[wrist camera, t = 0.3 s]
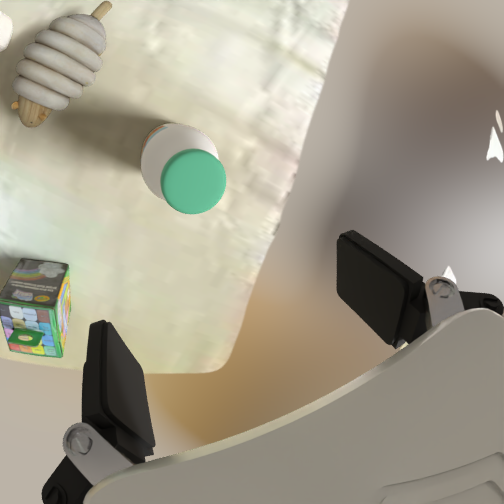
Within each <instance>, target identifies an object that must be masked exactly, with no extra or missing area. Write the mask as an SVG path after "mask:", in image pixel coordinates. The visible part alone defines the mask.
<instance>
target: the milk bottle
mask: <svg viewBox="0 0 504 504" xmlns="http://www.w3.org/2000/svg"><path fill="white" fill-rule="evenodd" d="M141 171H142V176H143V179H144V181H145V183H146V185H147V186H148V188H149V189H150V190H151V191H152V192H153V193H154V194H155V195H156V196H158V197H159V198H161V199H163V200H165V201H167V203H168V204H169V205H170V206H171V207H172V208H174V209H175V210H177V211H179V212H182V213H185V214H199V213H203V212H205V211H207V210H209V209H211V208H212V207H214V206H215V205H216V204H217V203H218V202H219V200H220V199H221V197H222V195H223V193H224V191H225V187H226V174H225V170H224V168H223V166H222V164H221V162H220V161H219V158H218V153H217V150H216V148H215V146H214V144H213V142H212V141H211V140H210V138H209V137H208V136H207V135H206V134H204V133H203V132H202V131H200V130H198V129H196V128H194V127H191V126H188V125H183V124H176V123H169V124H164V125H161V126H159V127H157V128H155V129H154V130H153V131H151V132H150V133H149V135H148V136H147V137H146V139H145V141H144V143H143V146H142V151H141Z"/></svg>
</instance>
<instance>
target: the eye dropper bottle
mask: <svg viewBox="0 0 504 504" xmlns="http://www.w3.org/2000/svg"><path fill="white" fill-rule="evenodd" d="M12 33H13V21H12V19H11V18H10V17H8V16H7V15H5V14H4V13H2V12H1V11H0V52H1V51H4V50H5V49H6V48H7V47H8V45H9V42H10V40H11V37H12Z"/></svg>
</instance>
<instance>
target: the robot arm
mask: <svg viewBox="0 0 504 504" xmlns="http://www.w3.org/2000/svg"><path fill="white" fill-rule="evenodd" d="M422 281H423V277H422V276H421V275H419V274H418V273H417V272H415V271H414V270H412V269H411V268H410V267H408V266H407V265H405V264H404V263H403V262H401V261H400V260H398V259H397V258H395V257H394V256H392V255H391V254H389V253H388V252H386V251H385V250H383V249H382V248H380V247H379V246H378V245H376V244H374V243H373V242H371V241H370V240H368V239H367V238H365V237H364V236H362V235H360V234H359V233H357V232H356V231H354V230H350V231H347V232H345V233H342V234H341V235H340V236H339V239H338V240H337V293H338V295H339V296H340V298H341V299H342V300H343V301H344V302H345V303H346V304H347V305H349V307H350V308H351V309H352V310H354V311H355V312H356V313H357V314H358V315H359V316H360V317H361V318H362V319H363V320H364V321H365V322H366V323H367V324H368V325H369V326H370V327H371V328H372V329H373V330H374V331H375V332H376V333H377V334H378V336H380V337H381V338H382V340H384V342H385V343H387V344H388V345H392V346H393V347H394V348H395V349H397V348H398V347H400V346H401V345H403V344H404V343H405V341H406V342H407V343H408V344H409V345H407V346H406V347H404V348H403V349H401V350H400V351H399V352H397V353H396V354H394V355H393V356H392V357H390V358H388V359H387V360H385V361H384V362H382V363H381V364H379V365H377V366H376V367H374V368H373V369H371V370H369V371H368V372H366V373H364V374H363V375H361V376H360V377H358V378H356V379H355V380H353V381H351V382H349V383H347V384H346V385H344V386H342V387H340V388H339V389H337V390H335V391H333V392H331V393H329V394H328V395H326V396H324V397H322V398H320V399H318V400H316V401H314V402H312V403H310V404H308V405H306V406H304V407H302V408H300V409H297V410H296V411H293V412H291V413H289V414H287V415H284V416H282V417H280V418H278V419H275V420H273V421H271V422H268V423H266V424H263V425H261V426H259V427H256V428H254V429H251V430H248V431H246V432H243V433H240V434H238V435H235V436H232V437H230V438H226V439H224V440H221V441H218V442H215V443H212V444H208V445H205V446H202V447H199V448H195V449H192V450H189V451H186V452H182V453H178V454H175V455H171V456H167V457H163V458H159V459H155V460H152V461H148V462H145V456H150V455H154V453H153V448H152V447H155V439H154V434H153V429H152V424H151V419H150V413H149V407H148V402H147V395H146V389H145V382H144V374H143V370H142V368H141V366H140V364H139V363H138V362H137V360H136V359H135V357H134V356H133V355H132V353H131V352H130V350H129V349H128V347H127V346H126V345H125V343H124V342H123V340H122V339H121V337H120V336H119V334H118V333H117V331H116V330H115V328H114V326H113V325H112V323H111V322H106V321H105V320H101V321H98V322H95V323H92V324H90V328H89V337H88V346H87V358H86V362H85V364H84V367H83V383H82V423H76V424H74V425H72V426H71V427H69V428H68V430H67V431H66V433H65V435H64V438H63V448H64V451H65V453H66V456H65V458H64V459H63V460H62V462H61V463H60V464H59V466H58V467H57V468H56V470H55V471H54V472H53V474H52V475H51V477H50V478H49V479H48V481H47V482H46V483H45V485H44V487H43V489H42V500H43V503H44V504H504V307H503V304H502V302H501V301H500V300H499V299H498V298H497V297H496V296H494V295H492V294H487V293H475V292H462V291H459V290H458V288H457V286H456V284H455V283H454V282H453V281H451V280H450V279H448V278H445V277H439V276H437V277H432V278H430V279H429V280H427V282H426V284H425V283H424V282H422Z"/></svg>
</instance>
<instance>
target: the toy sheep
mask: <svg viewBox="0 0 504 504" xmlns="http://www.w3.org/2000/svg"><path fill="white" fill-rule="evenodd" d="M111 8H112V4H111V3H110V2H109V1H104V2H102V3H101V4H100V5H99V6H98V7H97V8H96V9H95V11H94V12H93V13H92V14H91V15H85V14H76V15H71V16H68V17H59V18H57V19H55V20H54V21H53V22H52V23H51V24H50V28H49V30H42V31H40V32H39V33H38V34H37V35H36V37H35V42H36V43H31V44H29V45H27V46H26V47H25V49H24V56H25V57H26V58H25V59H22V60H21V61H19V62H18V64H17V66H16V71H17V73H18V74H20V75H19V76H18V77H16V79H15V80H14V82H13V85H12V87H13V90H14V91H15V92H16V93H17V94H19V98H18V101H17V102H14V103H13V104H12V105H11V108H12V109H17V108H18V114H19V118H20V120H21V122H22V123H23V124H24V125H25V126H27V127H30V128H32V127H36V126H38V125H40V124H41V123H43V122H44V121H45V120H46V118H47V117H48V116H49V114H50V113H51V111H52V109H53V110H57V111H61V110H64V109H65V108H66V107H67V106H68V104H69V102H70V98H73V99H77V98H79V97H80V96H81V95H82V93H83V86H90V85H92V84H93V83H94V81H95V78H96V76H95V74H94V72H96V71H98V70H100V68H101V67H102V65H103V62H102V60H101V58H100V57H99V56H100V55H101V54H102V52H103V51H104V50H105V48H106V42H105V39H106V33H105V30H104V27H103V25H102V24H101V23H100V19H101V18H102V17H103V16H104V15H105V14H106V13H107V12H108V11H109V10H110V9H111ZM69 97H70V98H69Z"/></svg>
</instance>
